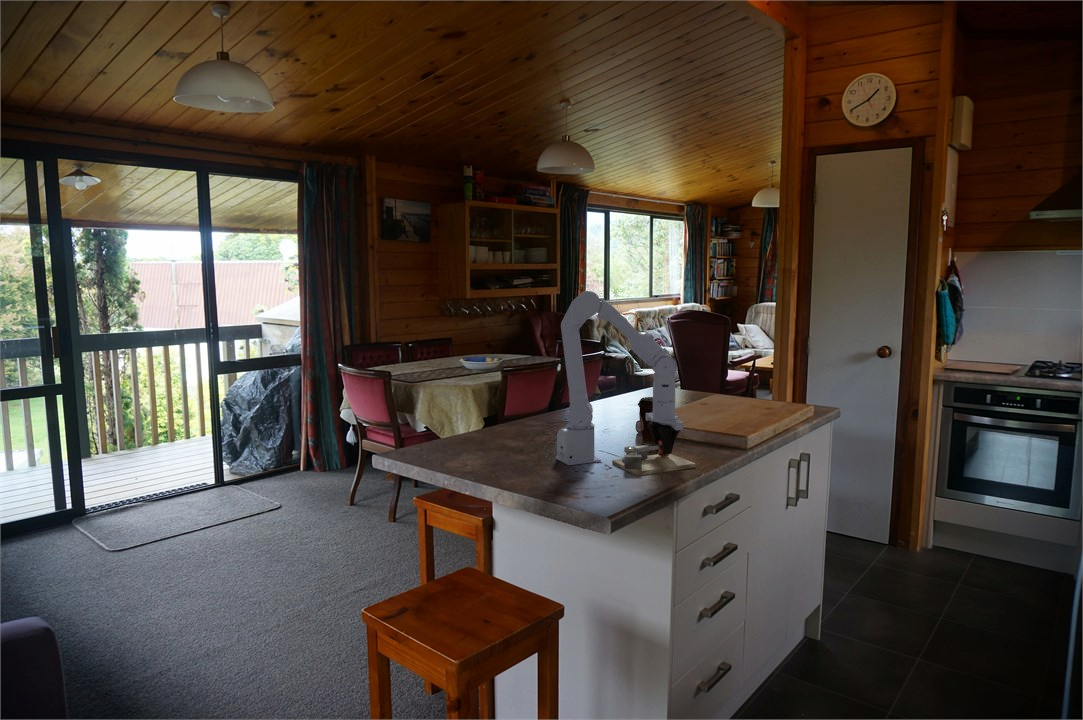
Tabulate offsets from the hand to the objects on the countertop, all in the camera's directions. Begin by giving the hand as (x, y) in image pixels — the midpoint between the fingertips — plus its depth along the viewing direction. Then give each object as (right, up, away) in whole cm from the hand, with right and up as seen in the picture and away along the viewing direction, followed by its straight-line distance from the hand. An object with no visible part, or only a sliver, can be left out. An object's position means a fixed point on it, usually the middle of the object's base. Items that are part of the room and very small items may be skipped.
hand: (663, 452), depth 182 cm
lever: (-5, -1, -2) cm, 5 cm away
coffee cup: (0, 0, +20) cm, 20 cm away
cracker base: (-4, -3, -5) cm, 7 cm away
